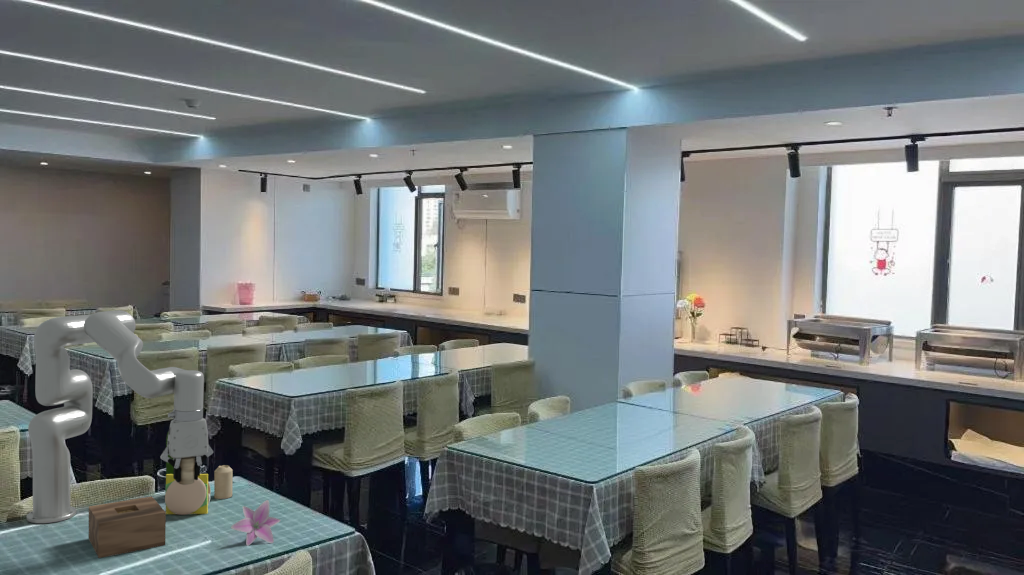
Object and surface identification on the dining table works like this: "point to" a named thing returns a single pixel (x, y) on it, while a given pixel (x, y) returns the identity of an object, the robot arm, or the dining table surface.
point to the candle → (223, 482)
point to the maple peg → (187, 470)
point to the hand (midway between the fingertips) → (186, 479)
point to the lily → (257, 523)
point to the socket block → (126, 526)
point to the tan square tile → (125, 511)
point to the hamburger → (187, 496)
